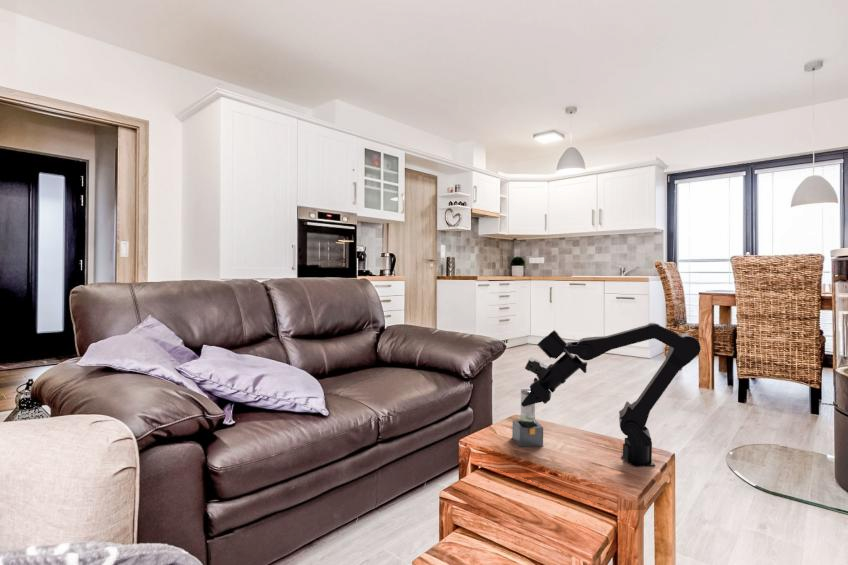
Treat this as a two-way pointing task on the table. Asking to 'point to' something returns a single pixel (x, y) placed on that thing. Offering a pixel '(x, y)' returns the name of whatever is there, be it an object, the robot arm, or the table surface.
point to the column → (527, 411)
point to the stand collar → (527, 435)
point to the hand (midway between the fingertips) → (523, 403)
